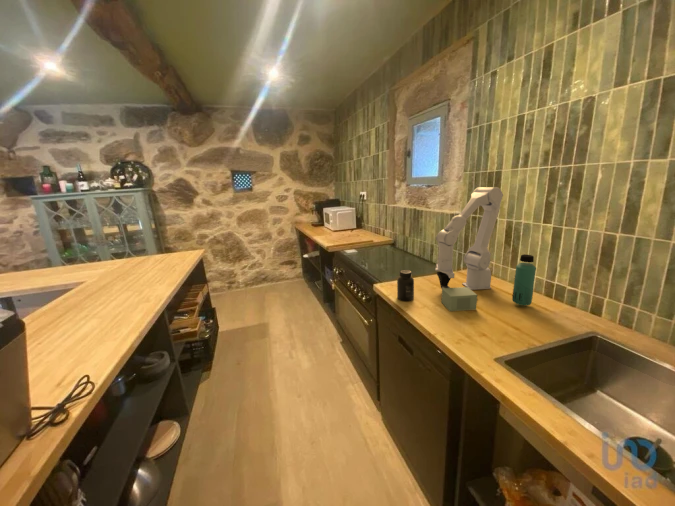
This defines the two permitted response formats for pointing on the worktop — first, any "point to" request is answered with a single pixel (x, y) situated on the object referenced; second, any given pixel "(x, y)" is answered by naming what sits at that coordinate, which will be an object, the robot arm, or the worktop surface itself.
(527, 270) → the beverage bottle
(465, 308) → the block
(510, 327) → the worktop surface
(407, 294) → the supplement bottle
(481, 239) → the robot arm
